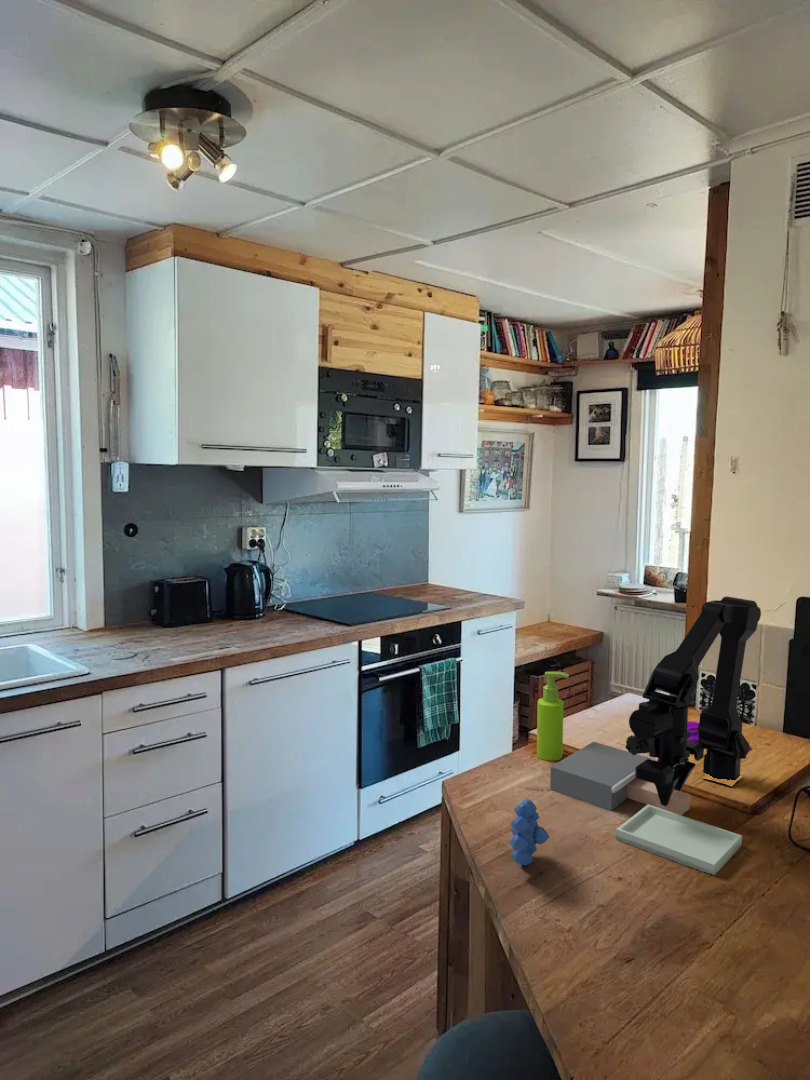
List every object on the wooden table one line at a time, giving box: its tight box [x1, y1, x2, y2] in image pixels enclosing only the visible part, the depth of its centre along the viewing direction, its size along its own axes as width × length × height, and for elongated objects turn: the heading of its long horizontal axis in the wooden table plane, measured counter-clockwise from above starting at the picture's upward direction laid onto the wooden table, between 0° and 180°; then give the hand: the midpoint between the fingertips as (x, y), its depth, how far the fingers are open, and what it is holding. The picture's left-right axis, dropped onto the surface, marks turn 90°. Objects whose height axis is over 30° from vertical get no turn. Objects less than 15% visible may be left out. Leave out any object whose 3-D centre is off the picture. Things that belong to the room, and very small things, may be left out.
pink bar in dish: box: [626, 778, 691, 816], centre depth 158 cm, size 14×4×3 cm, turn 46°
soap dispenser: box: [536, 671, 570, 762], centre depth 180 cm, size 6×7×20 cm
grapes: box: [508, 798, 550, 867], centre depth 134 cm, size 12×7×12 cm, turn 159°
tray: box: [615, 804, 743, 876], centre depth 142 cm, size 18×13×2 cm
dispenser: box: [549, 741, 657, 811], centre depth 165 cm, size 15×18×5 cm
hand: (668, 801), depth 156 cm, fingers closed on pink bar in dish, 4 cm apart
